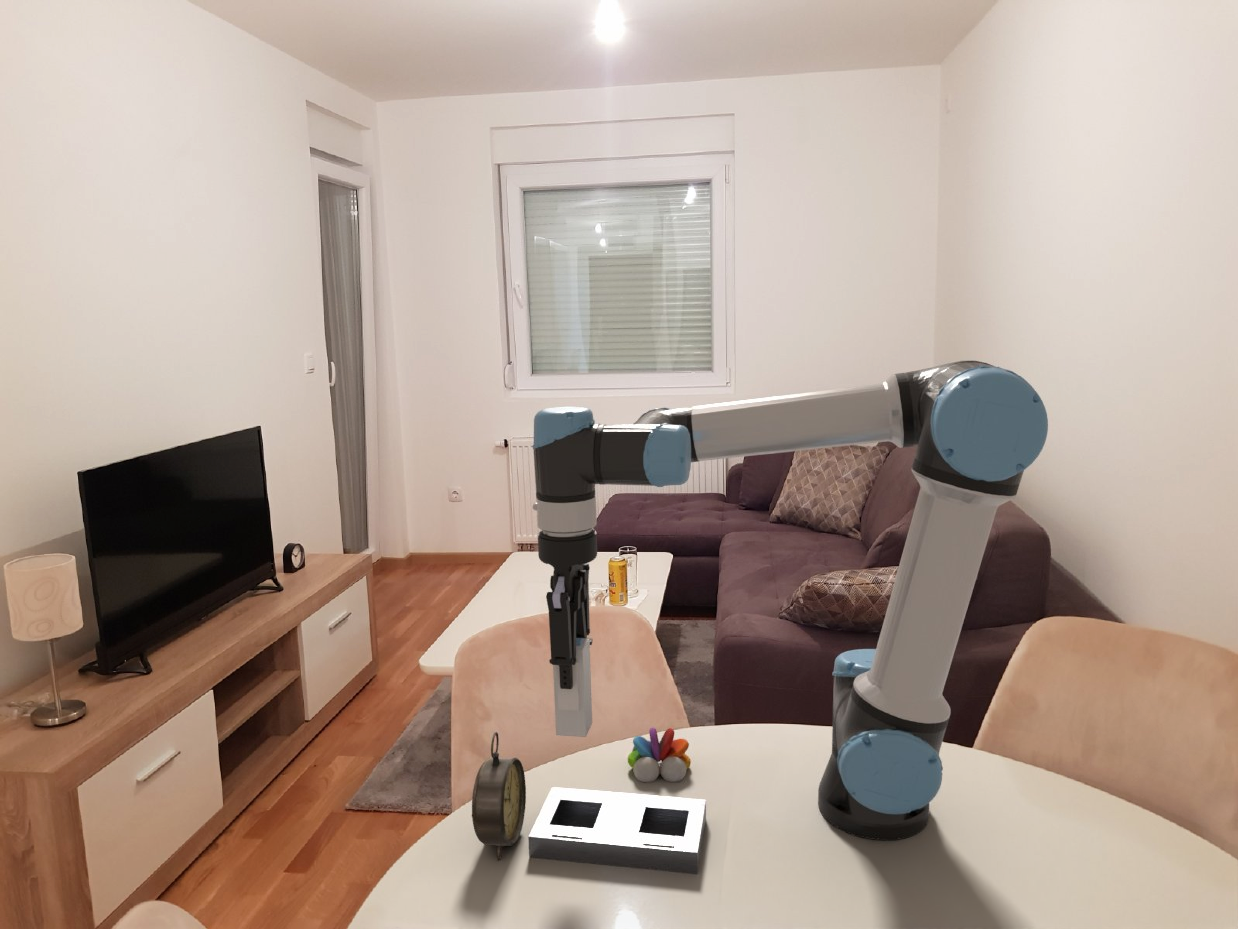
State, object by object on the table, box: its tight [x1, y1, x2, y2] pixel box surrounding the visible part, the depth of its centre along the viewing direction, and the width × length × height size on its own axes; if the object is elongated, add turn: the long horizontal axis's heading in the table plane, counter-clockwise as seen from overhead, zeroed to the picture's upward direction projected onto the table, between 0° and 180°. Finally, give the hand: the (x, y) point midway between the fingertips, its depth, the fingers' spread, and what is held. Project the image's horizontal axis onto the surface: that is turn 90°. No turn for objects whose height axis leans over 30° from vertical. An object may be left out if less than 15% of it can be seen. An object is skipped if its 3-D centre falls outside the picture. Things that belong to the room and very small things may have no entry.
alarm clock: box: [471, 731, 527, 862], centre depth 118 cm, size 11×5×16 cm, turn 171°
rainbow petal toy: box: [627, 727, 692, 783], centre depth 136 cm, size 8×10×7 cm
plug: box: [552, 637, 593, 738], centre depth 116 cm, size 4×4×13 cm
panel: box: [528, 786, 707, 875], centre depth 119 cm, size 22×12×4 cm, turn 79°
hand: (573, 700), depth 117 cm, fingers closed on plug, 4 cm apart
